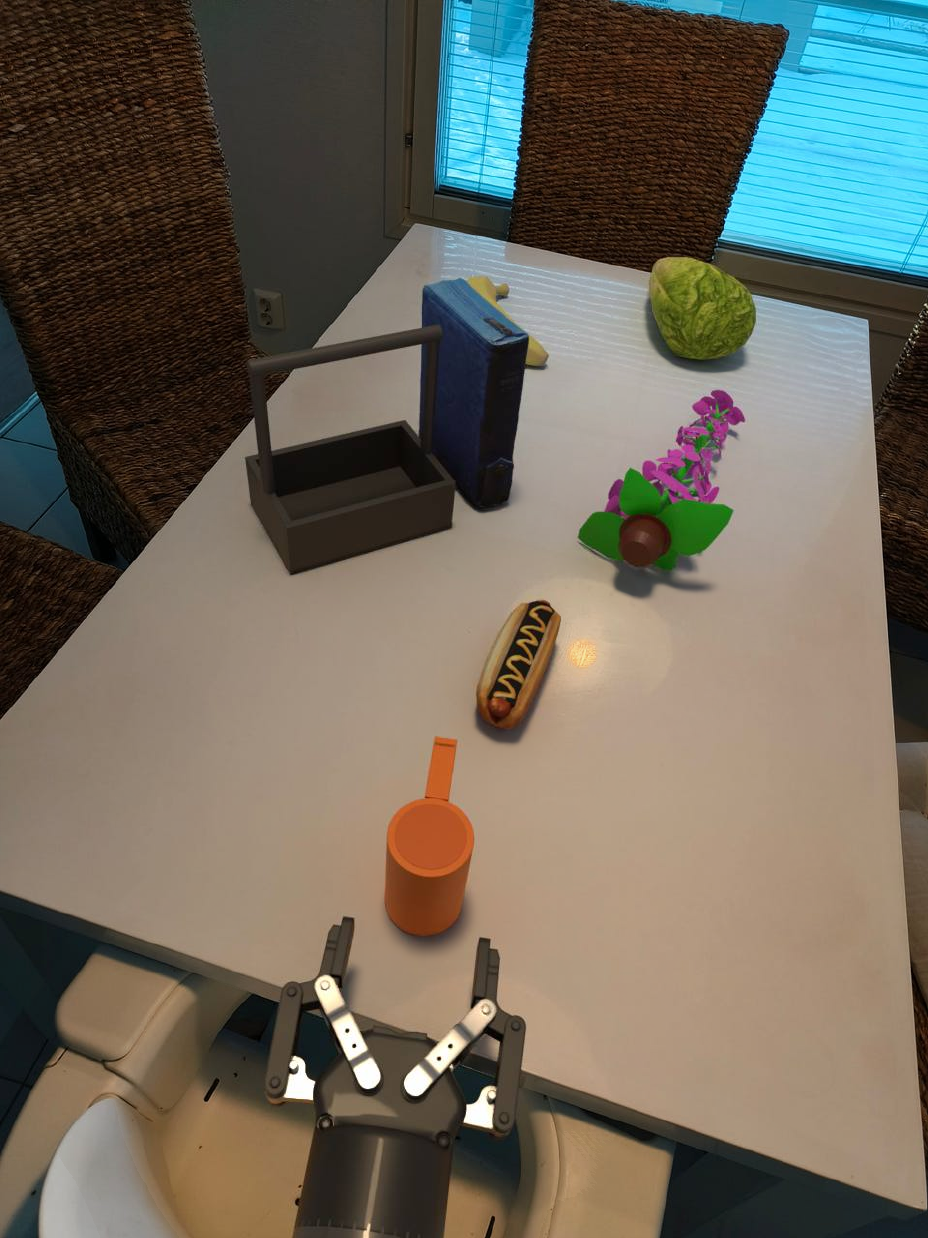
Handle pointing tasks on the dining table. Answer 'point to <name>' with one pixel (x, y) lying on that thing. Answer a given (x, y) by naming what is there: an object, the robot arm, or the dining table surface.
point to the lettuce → (700, 308)
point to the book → (474, 389)
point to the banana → (489, 292)
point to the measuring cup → (429, 853)
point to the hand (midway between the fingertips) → (416, 932)
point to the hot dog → (517, 663)
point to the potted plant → (667, 498)
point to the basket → (349, 469)
